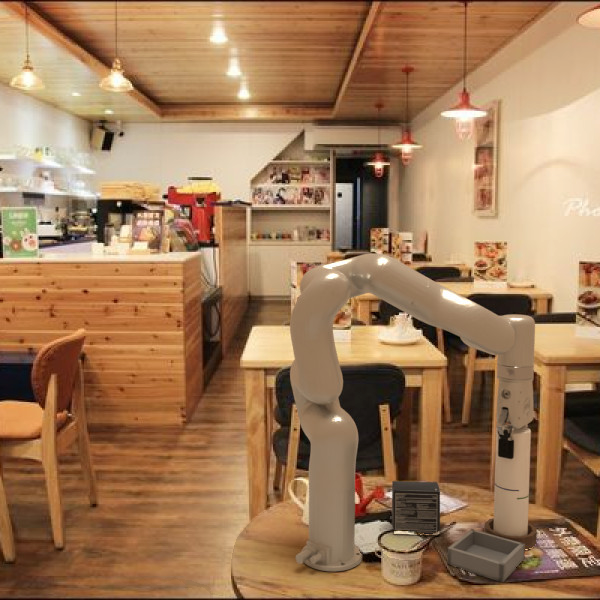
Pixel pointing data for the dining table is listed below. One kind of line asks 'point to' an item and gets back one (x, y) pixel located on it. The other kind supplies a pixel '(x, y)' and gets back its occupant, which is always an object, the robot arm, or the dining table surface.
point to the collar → (526, 539)
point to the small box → (416, 506)
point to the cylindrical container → (513, 486)
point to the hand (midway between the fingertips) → (512, 452)
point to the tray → (486, 555)
